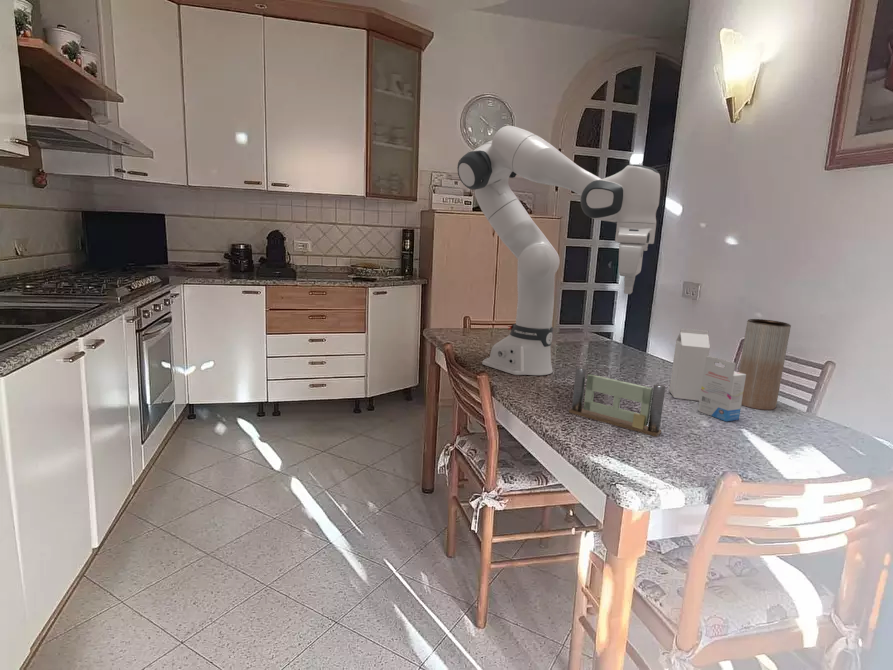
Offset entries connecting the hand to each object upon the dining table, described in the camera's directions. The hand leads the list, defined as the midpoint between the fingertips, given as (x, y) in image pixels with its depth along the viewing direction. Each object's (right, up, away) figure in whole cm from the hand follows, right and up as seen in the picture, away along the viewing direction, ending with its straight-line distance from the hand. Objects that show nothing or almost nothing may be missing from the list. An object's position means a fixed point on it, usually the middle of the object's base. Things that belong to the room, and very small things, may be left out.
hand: (627, 293), depth 132 cm
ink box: (+24, -31, +4) cm, 39 cm away
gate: (-5, -29, -6) cm, 30 cm away
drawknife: (-5, -30, -5) cm, 31 cm away
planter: (+40, -29, +16) cm, 52 cm away
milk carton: (+22, -27, +20) cm, 40 cm away
